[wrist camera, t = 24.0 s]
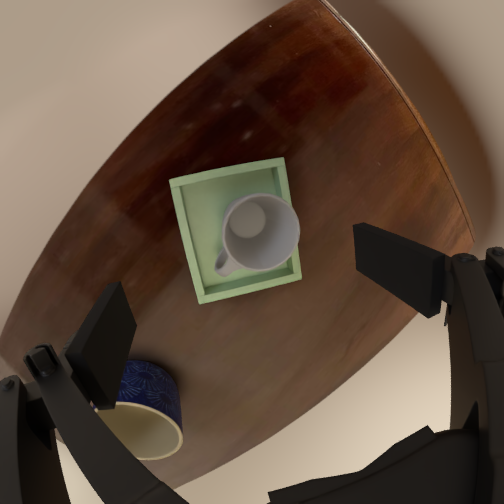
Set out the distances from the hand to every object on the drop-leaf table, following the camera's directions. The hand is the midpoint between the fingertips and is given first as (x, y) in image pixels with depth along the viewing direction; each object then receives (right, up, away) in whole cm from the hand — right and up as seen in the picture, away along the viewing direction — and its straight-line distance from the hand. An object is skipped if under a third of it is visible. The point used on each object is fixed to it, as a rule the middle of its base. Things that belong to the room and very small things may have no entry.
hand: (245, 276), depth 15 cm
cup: (-1, +4, +21) cm, 21 cm away
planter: (-16, -19, +24) cm, 35 cm away
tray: (-2, +4, +21) cm, 21 cm away
